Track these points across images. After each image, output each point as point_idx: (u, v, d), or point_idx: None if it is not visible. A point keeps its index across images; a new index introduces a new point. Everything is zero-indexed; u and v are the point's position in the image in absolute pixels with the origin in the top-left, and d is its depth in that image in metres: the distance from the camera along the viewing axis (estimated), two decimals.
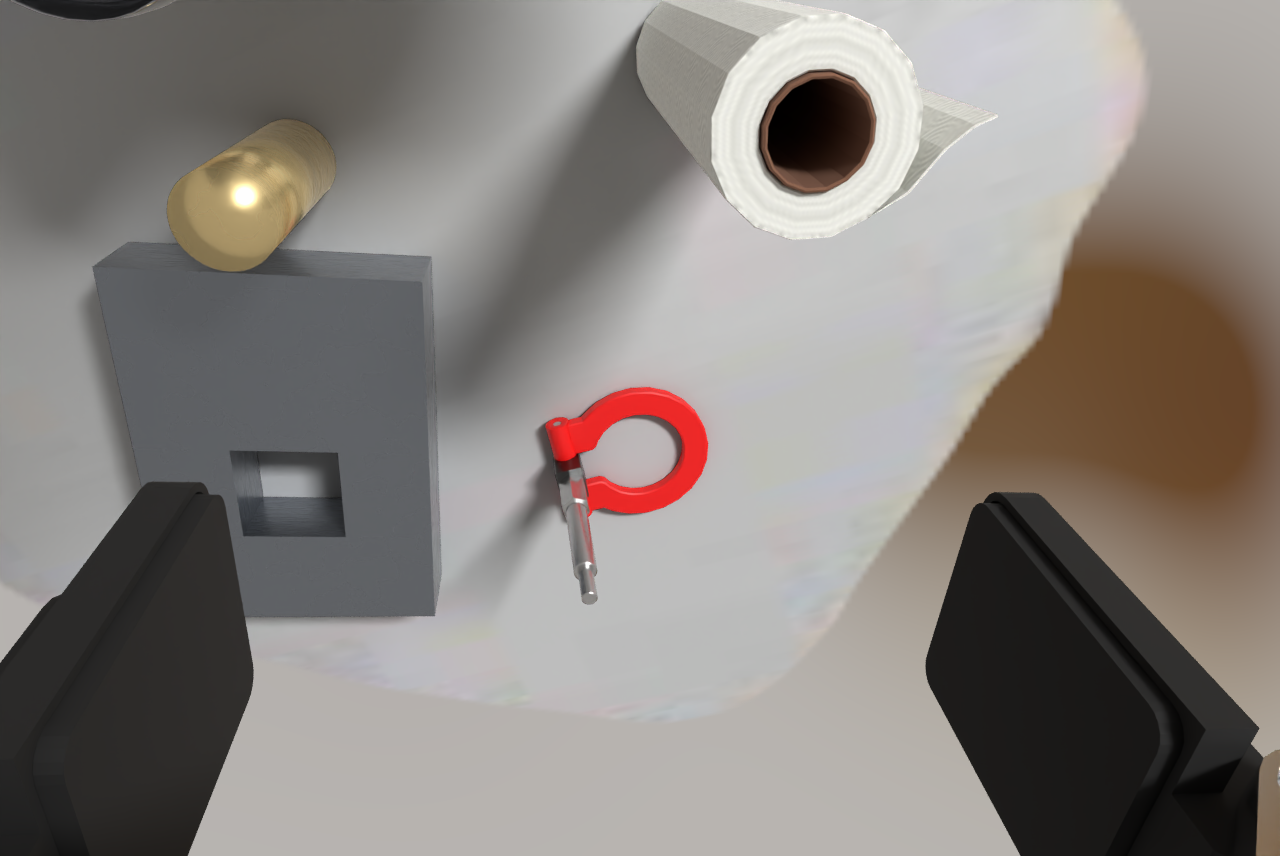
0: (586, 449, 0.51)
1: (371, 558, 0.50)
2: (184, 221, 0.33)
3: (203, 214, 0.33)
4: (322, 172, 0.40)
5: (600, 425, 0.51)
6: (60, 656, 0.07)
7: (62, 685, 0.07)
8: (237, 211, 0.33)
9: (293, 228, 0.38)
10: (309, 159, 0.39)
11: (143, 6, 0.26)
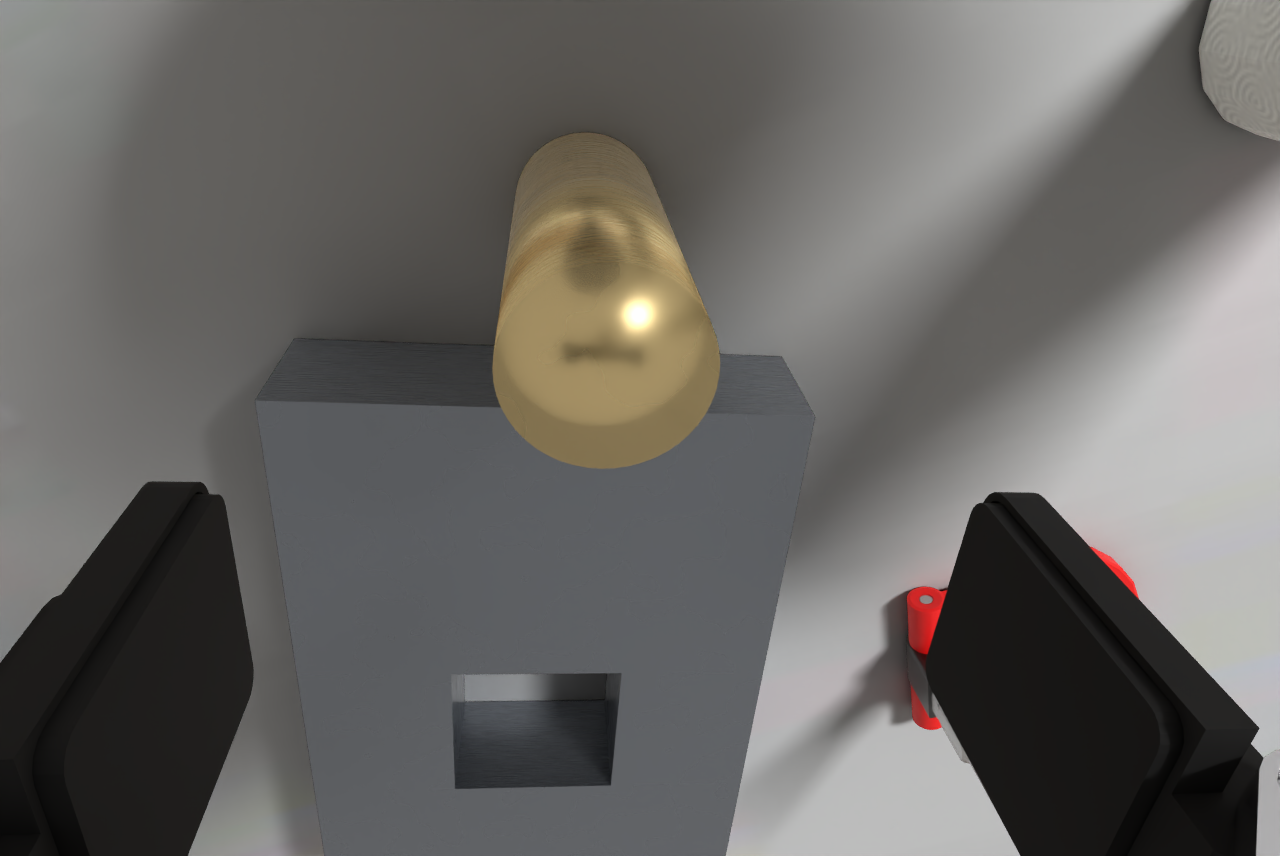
0: None
1: (644, 811, 0.32)
2: (526, 374, 0.15)
3: (568, 358, 0.15)
4: None
5: None
6: (60, 656, 0.07)
7: (62, 685, 0.07)
8: (642, 352, 0.15)
9: None
10: (664, 212, 0.21)
11: None
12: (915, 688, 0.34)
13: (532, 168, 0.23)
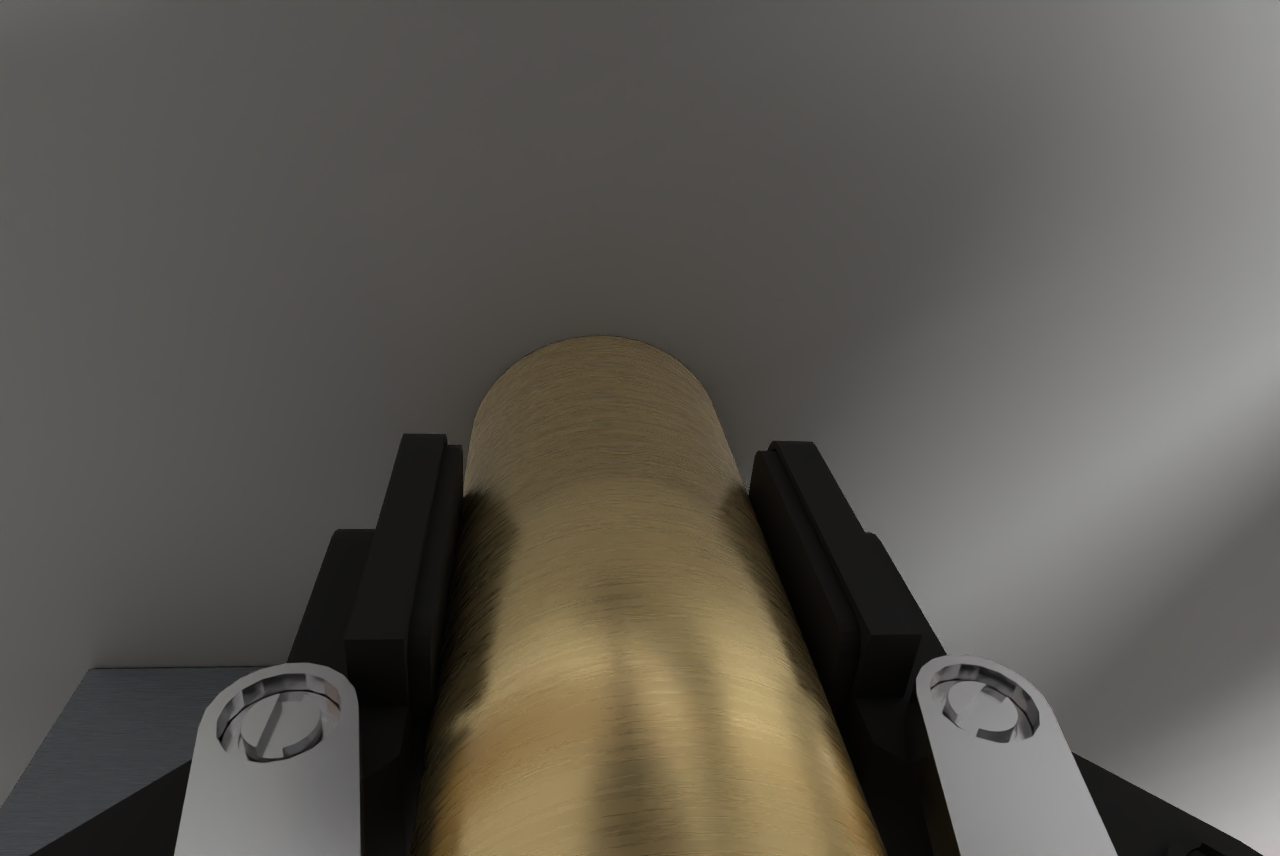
0: None
1: None
2: None
3: None
4: None
5: None
6: (401, 566, 0.08)
7: (414, 587, 0.08)
8: None
9: None
10: (769, 551, 0.10)
11: None
12: None
13: (497, 425, 0.12)
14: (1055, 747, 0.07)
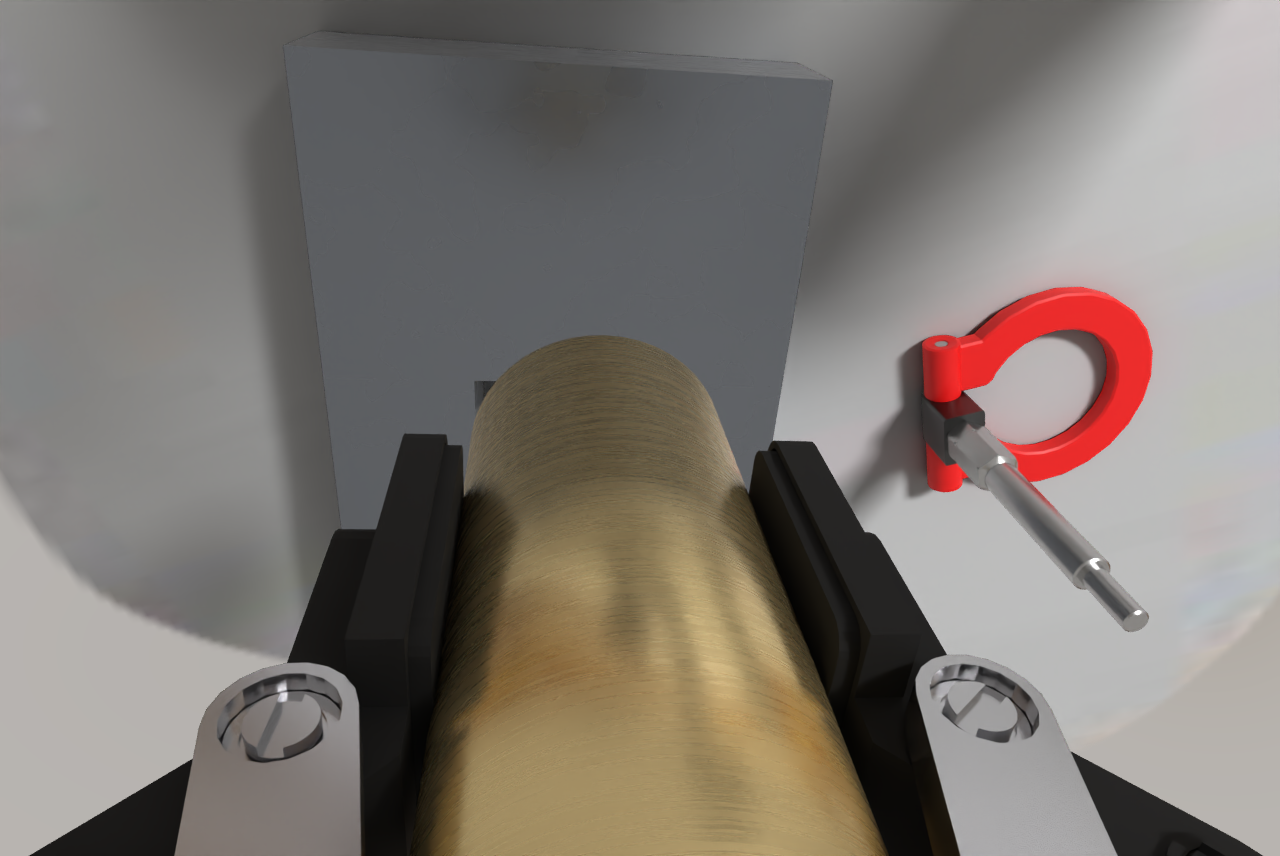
0: (978, 384, 0.34)
1: None
2: None
3: None
4: None
5: (1007, 346, 0.33)
6: (401, 565, 0.08)
7: (414, 586, 0.08)
8: None
9: None
10: (770, 552, 0.10)
11: None
12: (931, 442, 0.34)
13: (498, 425, 0.12)
14: (1054, 747, 0.07)
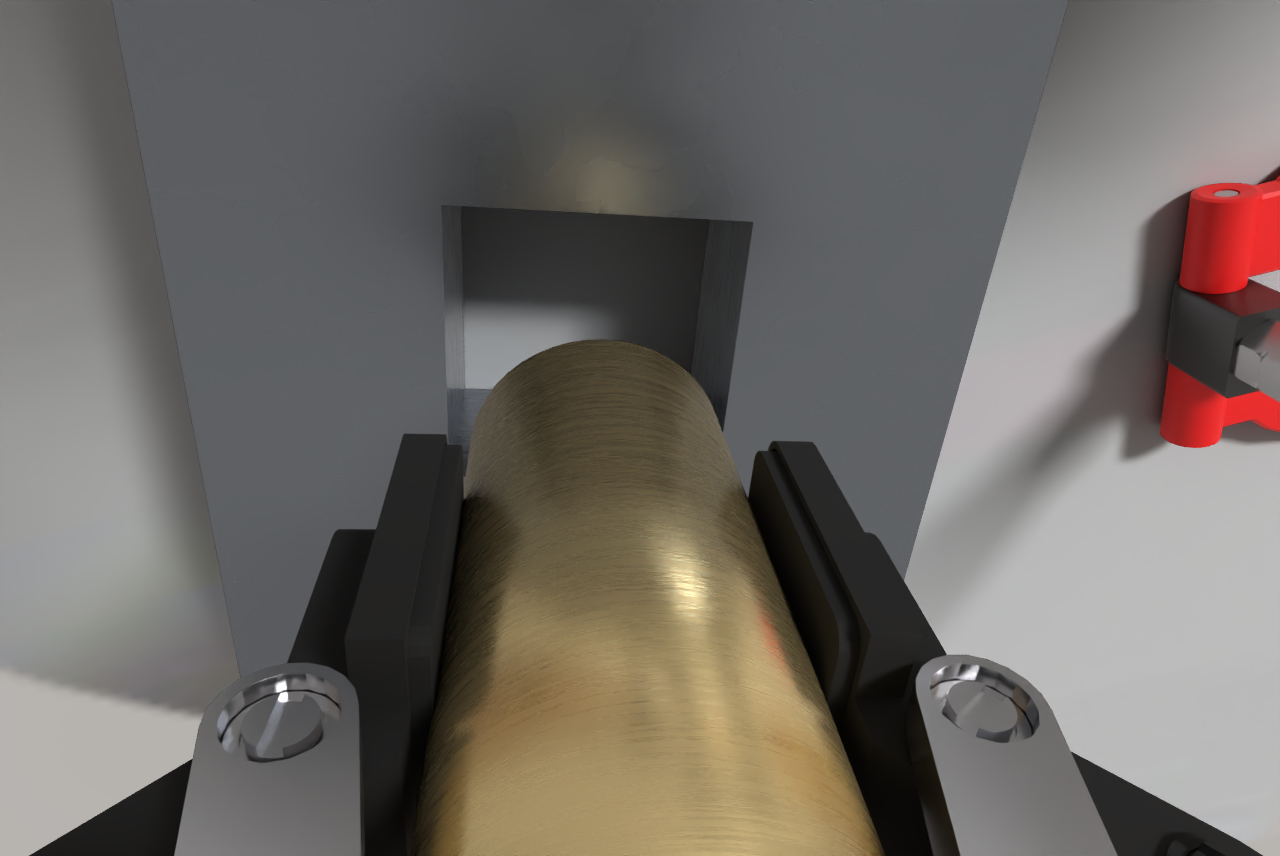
0: (1276, 265, 0.20)
1: None
2: None
3: None
4: None
5: None
6: (401, 566, 0.08)
7: (414, 587, 0.08)
8: None
9: None
10: (770, 558, 0.10)
11: None
12: (1189, 364, 0.21)
13: (497, 430, 0.12)
14: (1055, 747, 0.07)
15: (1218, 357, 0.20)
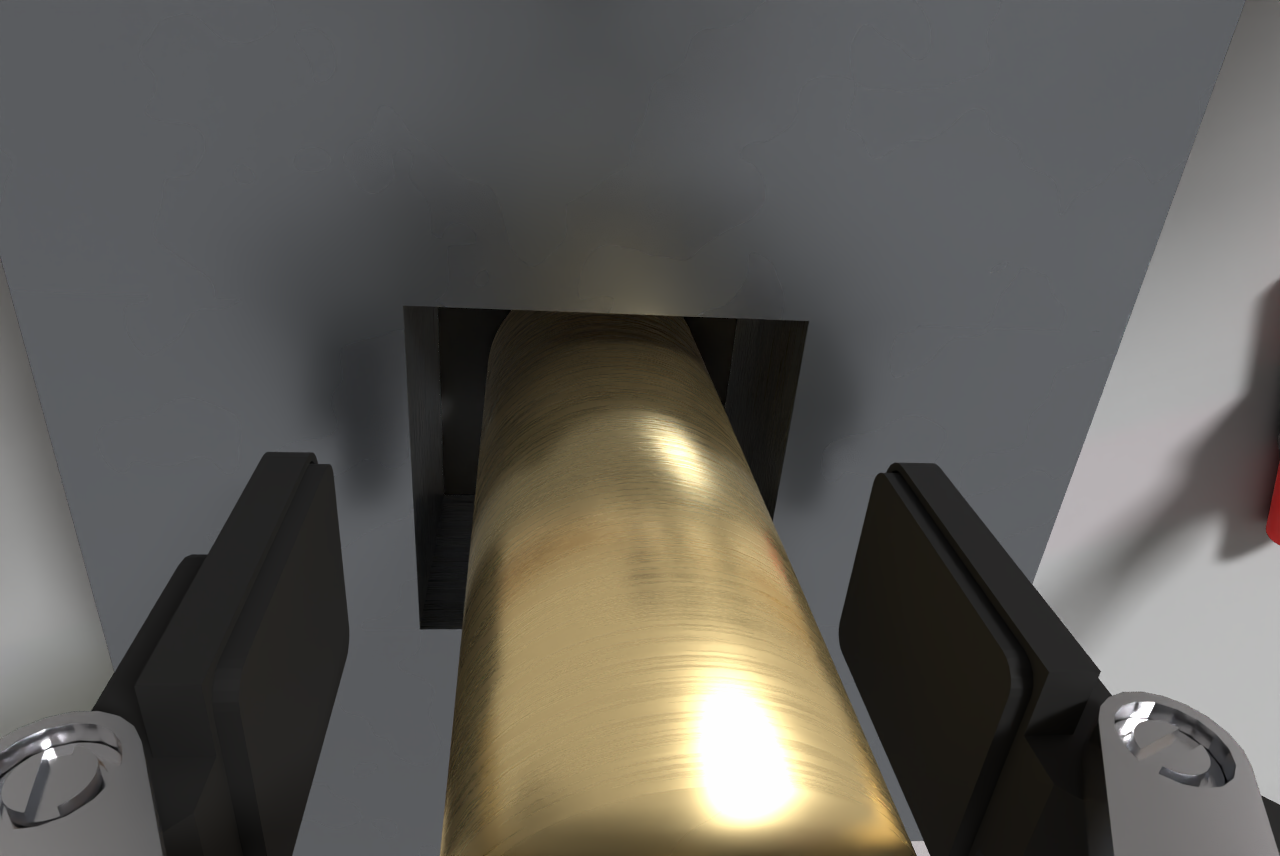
0: None
1: None
2: None
3: None
4: None
5: None
6: (222, 600, 0.08)
7: (230, 624, 0.07)
8: None
9: None
10: (733, 431, 0.13)
11: None
12: None
13: (513, 341, 0.14)
14: (1248, 802, 0.07)
15: None
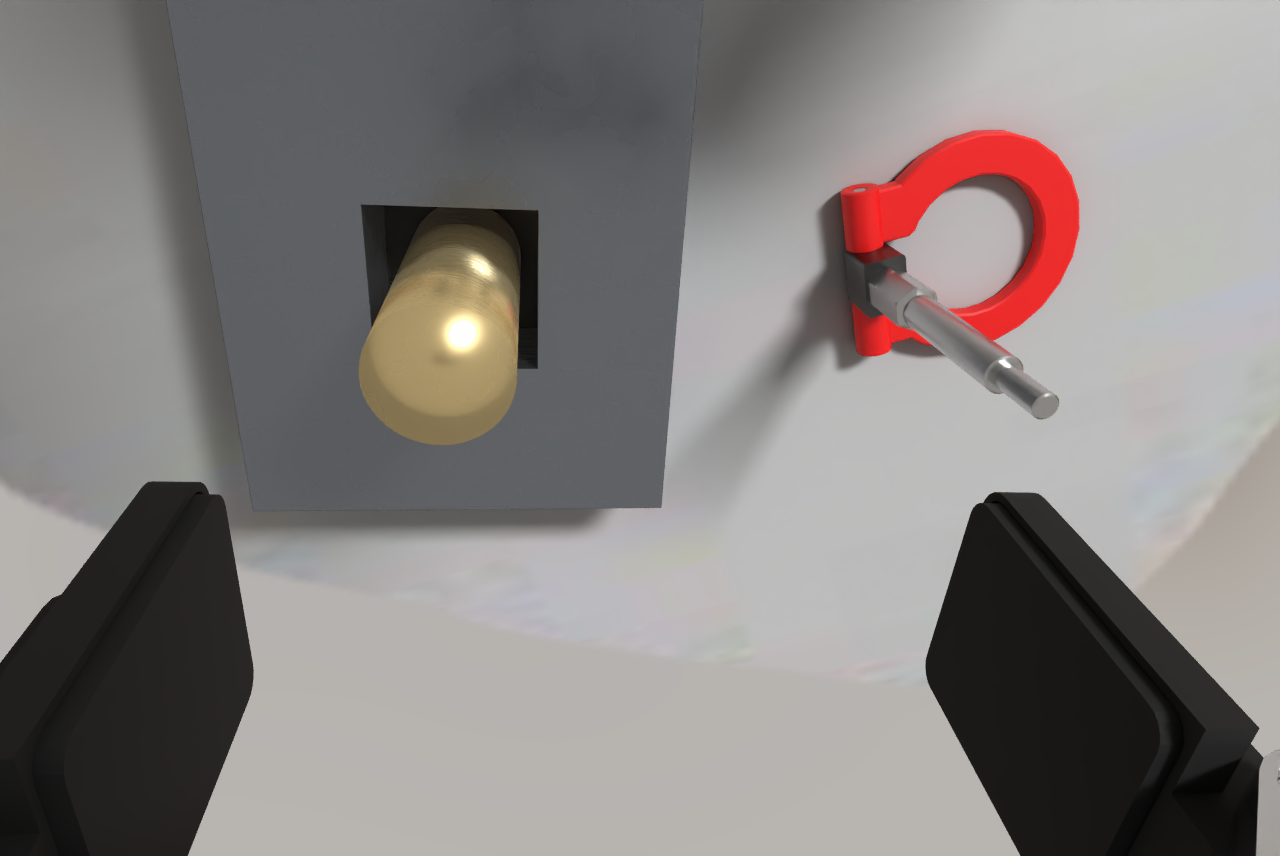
0: (900, 234, 0.32)
1: (574, 407, 0.31)
2: (382, 379, 0.22)
3: (411, 369, 0.22)
4: (519, 276, 0.30)
5: (927, 191, 0.32)
6: (60, 656, 0.07)
7: (63, 686, 0.07)
8: (461, 362, 0.22)
9: None
10: (511, 262, 0.28)
11: None
12: (855, 299, 0.33)
13: (417, 231, 0.30)
14: None
15: (862, 292, 0.32)
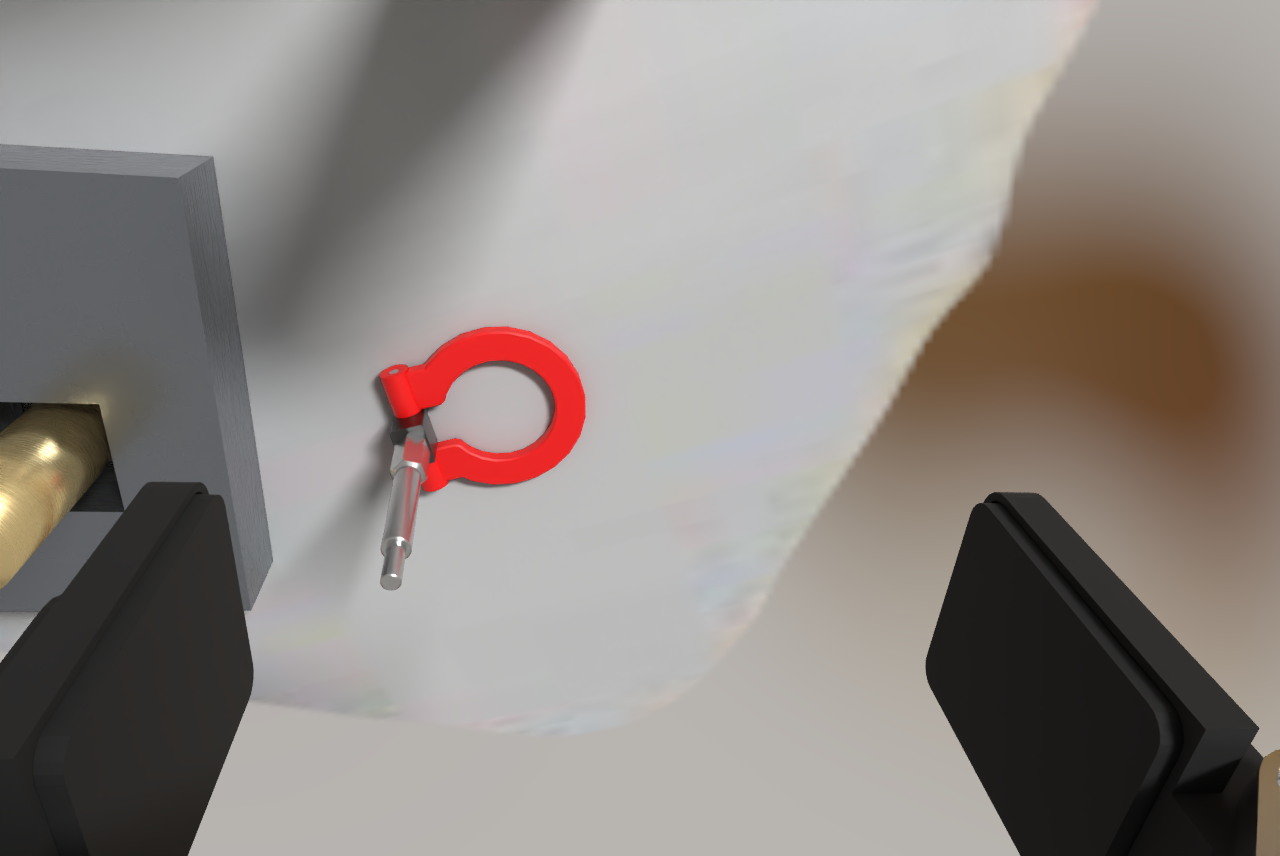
0: (432, 404, 0.42)
1: None
2: None
3: None
4: (106, 442, 0.39)
5: (447, 373, 0.41)
6: (60, 656, 0.07)
7: (63, 684, 0.07)
8: None
9: None
10: (85, 439, 0.37)
11: None
12: None
13: None
14: None
15: None
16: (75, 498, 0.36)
